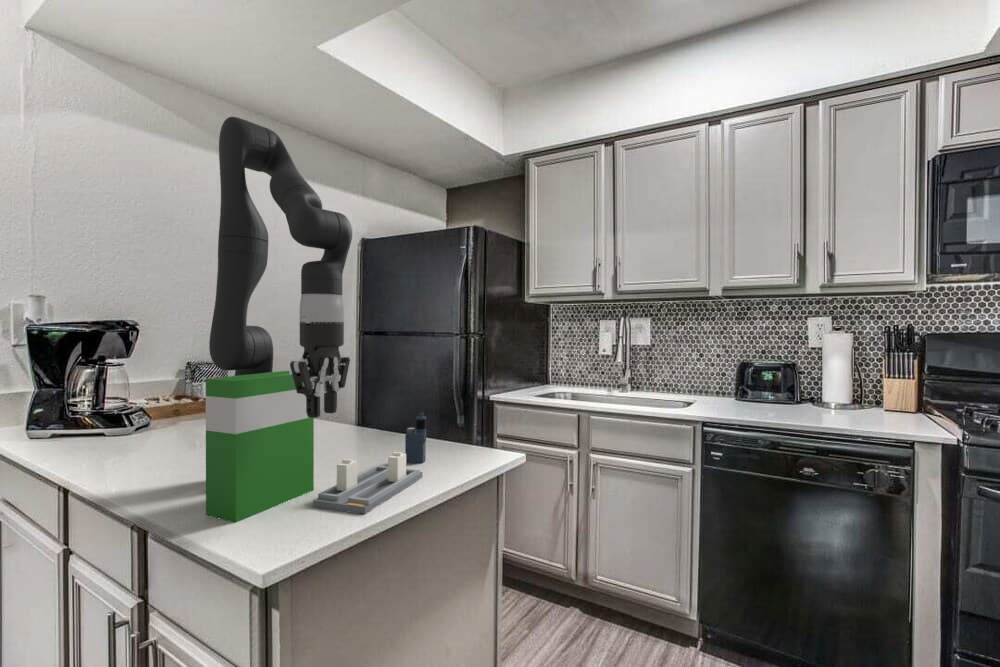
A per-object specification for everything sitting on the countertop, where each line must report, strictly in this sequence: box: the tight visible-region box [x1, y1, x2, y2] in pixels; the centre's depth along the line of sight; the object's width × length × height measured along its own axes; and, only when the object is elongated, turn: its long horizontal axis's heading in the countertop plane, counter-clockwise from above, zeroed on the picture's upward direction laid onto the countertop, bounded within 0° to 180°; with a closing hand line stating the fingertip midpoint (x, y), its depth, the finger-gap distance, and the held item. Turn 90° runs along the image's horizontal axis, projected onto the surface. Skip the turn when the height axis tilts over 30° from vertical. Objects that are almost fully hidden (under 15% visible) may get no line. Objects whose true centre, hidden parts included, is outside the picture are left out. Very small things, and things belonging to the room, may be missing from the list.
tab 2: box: [387, 451, 407, 482], centre depth 101 cm, size 2×4×6 cm, turn 162°
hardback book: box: [205, 370, 315, 523], centre depth 91 cm, size 18×7×24 cm, turn 157°
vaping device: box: [404, 412, 427, 464], centre depth 119 cm, size 3×5×12 cm, turn 79°
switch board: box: [313, 465, 424, 515], centre depth 98 cm, size 11×22×2 cm, turn 162°
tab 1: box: [336, 458, 358, 491], centre depth 95 cm, size 2×4×6 cm, turn 162°
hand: (322, 414), depth 88 cm, fingers open, 4 cm apart
